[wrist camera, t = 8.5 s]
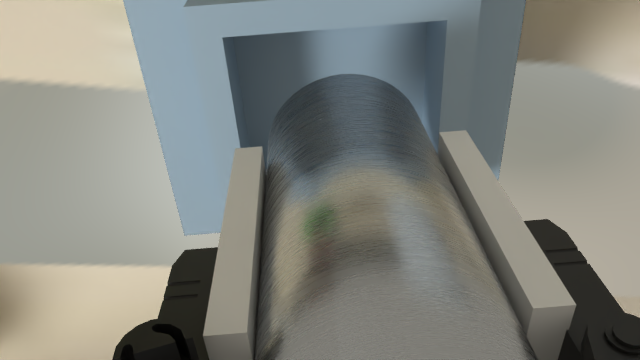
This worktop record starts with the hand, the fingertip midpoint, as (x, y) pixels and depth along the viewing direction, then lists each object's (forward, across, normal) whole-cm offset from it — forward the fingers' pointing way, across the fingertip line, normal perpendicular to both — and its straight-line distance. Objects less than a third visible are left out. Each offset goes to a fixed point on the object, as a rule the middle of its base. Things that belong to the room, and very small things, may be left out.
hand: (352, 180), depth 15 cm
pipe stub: (+2, 0, 0) cm, 2 cm away
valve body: (+9, 0, -3) cm, 10 cm away
